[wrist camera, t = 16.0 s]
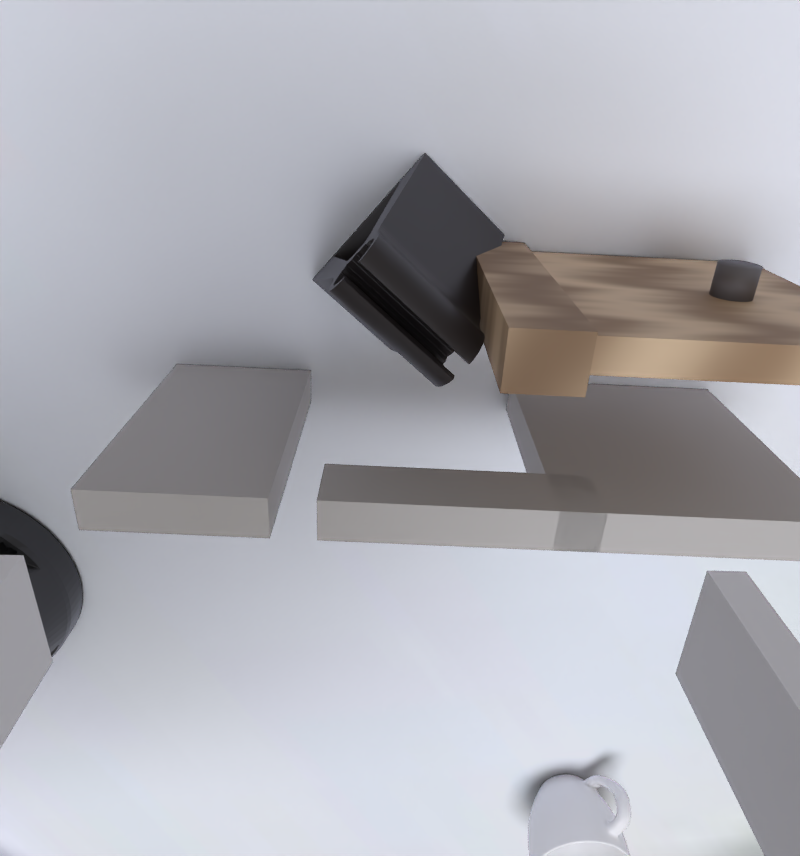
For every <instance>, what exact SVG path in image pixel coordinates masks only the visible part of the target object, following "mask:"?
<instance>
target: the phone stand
mask: <svg viewBox="0 0 800 856" xmlns="http://www.w3.org/2000/svg"><path fill="white" fill-rule="evenodd" d="M503 238H504V234H503V233H502V232H501V231H500V230H499V229H498V228H497V227H496V226H495V225H494V224H493V223H492V222H491V221H490V220H489V219H488V218H487V217H486V216H485V214H484V213H483V212H482V211H481V210H480V209H479V208H478V207H477V206H476V205H475V204H474V203H473V202H472V201H471V200H470V199H469V198H468V197H467V196H466V195H465V194H464V193H463V192H462V191H461V190H460V189H459V188H458V186H457V185H456V184H455V183H454V182H453V181H452V180H451V179H450V178H449V177H448V176H447V175H446V174H445V173H444V172H443V171H442V170H441V169H440V168H439V167H438V166H437V165H436V164H435V163H434V162H433V161H432V160H431V158H430V157H429V156H428V155H427V154H426V153H424V154H423V155H422V156H421V158H420V159H419V160H418V161H417V162H416V163H415V164H414V165H413V167H412V168H411V169H410V170H409V171H408V172H407V173H406V174H405V176H404V177H403V178H402V179H401V180H400V181H399V182H398V183H397V185H396V186H395V187H394V188H393V189H392V190H391V191H390V192H389V194H388V195H387V196H386V197H385V198H384V199H383V200H382V201H381V203H380V204H379V205H378V206H377V207H376V208H375V209H374V211H373V212H372V213H371V214H370V215H369V216H368V218H367V219H366V220H365V221H364V222H363V223H362V224H361V225H360V226H359V227H358V229H357V230H356V231H355V232H354V233H353V234H352V235H351V236H350V238H349V239H348V240H347V241H346V242H345V243H344V244H343V245H342V247H341V248H340V249H339V250H338V251H337V252H336V253H335V254H334V256H333V257H332V258H331V259H330V260H329V261H328V262H327V263H326V265H325V266H324V267H323V268H322V269H321V270H320V271H319V272H318V274H317V275H316V276H315V277H314V279H313V281H314V282H315V283H317V284H318V285H319V286H320V287H321V288H322V289H323V290H324V291H326V292H327V293H328V294H329V295H330V296H331V297H332V298H333V299H335V300H336V301H337V302H338V303H339V304H340V305H341V306H342V307H344V308H345V309H346V310H347V311H348V312H349V313H350V314H351V315H353V316H354V317H355V318H356V319H357V320H358V321H359V322H361V323H362V324H363V325H364V326H365V327H366V328H367V329H368V330H370V331H371V332H372V333H373V334H374V335H375V336H376V337H377V338H379V339H380V340H381V341H382V342H383V343H384V344H385V345H386V346H388V347H389V348H390V349H391V350H393V351H395V352H398V353H399V354H400V355H401V356H403V357H404V358H405V359H406V360H407V361H408V362H409V363H410V364H412V365H413V366H414V367H415V368H416V369H417V370H418V371H419V372H421V373H422V374H423V375H424V376H425V377H426V378H427V379H428V380H430V381H431V382H432V383H433V384H434V385H435V386H437V387H439V386H443V385H445V384H447V383H449V382H450V381H452V380H453V379H454V375H453V374H452V373H451V372H450V371H449V370H448V369H447V368H445V367H444V366H443V363H445V362H446V359H447V356H449V355H450V354H452V353H453V352H454V351H455V352H456V353H457V354H458V355H459V356H460V357H461V358H463V359H464V360H465V361H466V362H467V363H468V364H470V363H471V362H472V361H473V359H474V358H475V357H476V355H477V354H478V352H479V351H480V349H481V347H482V345H483V342H484V339H485V335H484V333H483V332H482V331H481V330H480V319H481V315H480V301H479V287H478V273H477V260H476V256H478V255H480V254H482V253H485V252H487V251H490V250H492V249H494V248H497V247H499V246H501V245H502V241H503Z"/></svg>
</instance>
